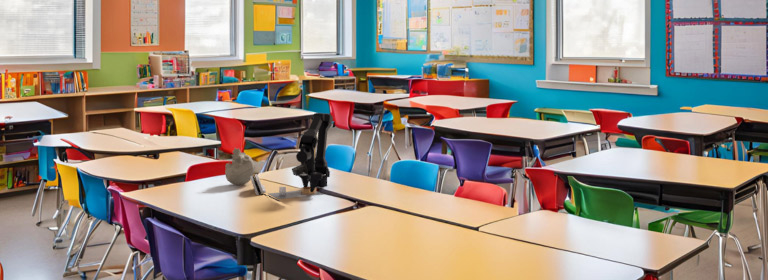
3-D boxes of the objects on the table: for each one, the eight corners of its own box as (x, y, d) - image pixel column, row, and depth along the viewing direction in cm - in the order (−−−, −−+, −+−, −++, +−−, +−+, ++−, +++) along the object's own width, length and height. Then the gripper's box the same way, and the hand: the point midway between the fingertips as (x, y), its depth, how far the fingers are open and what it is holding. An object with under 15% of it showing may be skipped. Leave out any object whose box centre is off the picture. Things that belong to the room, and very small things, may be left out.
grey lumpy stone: (222, 184, 379) (221, 147, 377) (248, 181, 388) (248, 145, 385) (232, 188, 369) (232, 150, 366) (258, 185, 378) (258, 148, 375)
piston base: (311, 191, 365) (311, 181, 364) (324, 196, 353) (324, 186, 352) (267, 196, 352) (267, 185, 352) (278, 201, 341) (278, 190, 340)
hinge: (266, 194, 355) (259, 176, 353) (257, 198, 354) (250, 179, 352) (265, 188, 371) (258, 170, 369) (256, 191, 371) (249, 173, 369)
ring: (311, 190, 361) (312, 186, 361) (318, 193, 355) (318, 188, 355) (299, 192, 357) (299, 187, 357) (305, 194, 352) (305, 189, 351)
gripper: (286, 158, 358) (286, 188, 360) (302, 163, 342) (301, 195, 344) (306, 156, 364) (306, 186, 366) (322, 161, 348) (322, 193, 350)
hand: (308, 190), depth 356 cm, fingers closed on ring, 7 cm apart
